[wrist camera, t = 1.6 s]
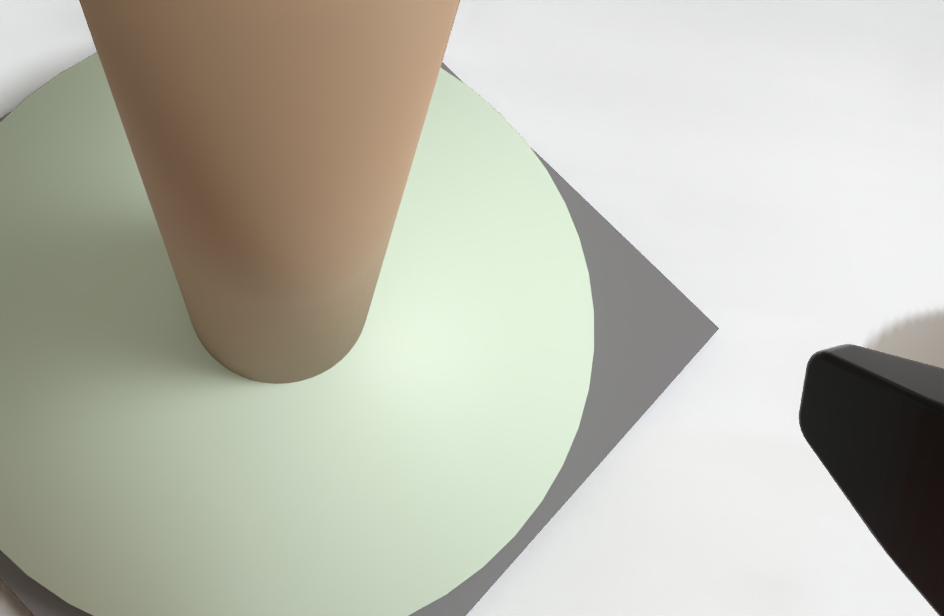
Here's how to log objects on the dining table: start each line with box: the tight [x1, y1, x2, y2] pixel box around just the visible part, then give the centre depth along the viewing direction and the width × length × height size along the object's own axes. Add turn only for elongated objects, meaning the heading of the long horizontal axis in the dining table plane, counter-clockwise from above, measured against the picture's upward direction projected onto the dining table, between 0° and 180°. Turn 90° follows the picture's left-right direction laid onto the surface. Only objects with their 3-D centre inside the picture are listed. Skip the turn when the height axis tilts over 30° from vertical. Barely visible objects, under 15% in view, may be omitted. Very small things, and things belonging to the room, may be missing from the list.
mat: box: [0, 63, 719, 616], centre depth 21 cm, size 16×16×1 cm
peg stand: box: [0, 0, 594, 616], centre depth 14 cm, size 15×15×14 cm
